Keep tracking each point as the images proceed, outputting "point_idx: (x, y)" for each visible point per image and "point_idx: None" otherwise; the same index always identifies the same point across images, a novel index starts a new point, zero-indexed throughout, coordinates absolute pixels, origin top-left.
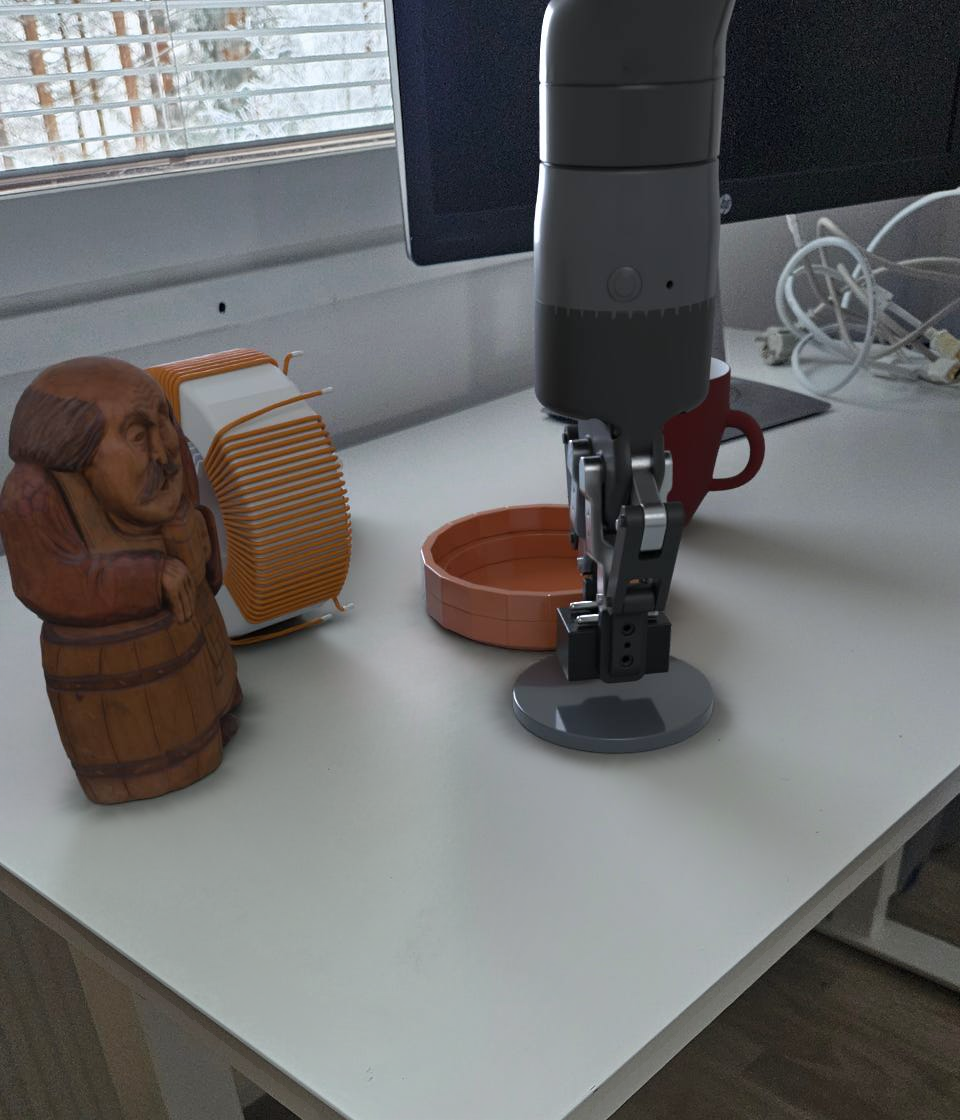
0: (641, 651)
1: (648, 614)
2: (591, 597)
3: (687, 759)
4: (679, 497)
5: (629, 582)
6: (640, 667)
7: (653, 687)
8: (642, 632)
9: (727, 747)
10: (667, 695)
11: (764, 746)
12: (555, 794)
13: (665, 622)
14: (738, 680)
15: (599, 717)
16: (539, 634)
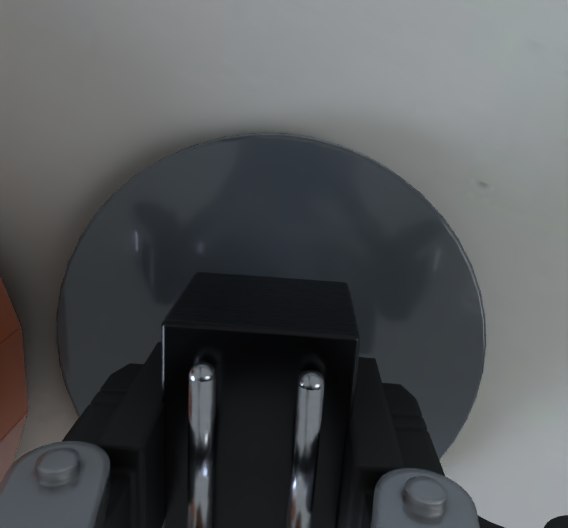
0: (425, 424)
1: (322, 407)
2: (159, 522)
3: (532, 272)
4: None
5: (144, 440)
6: (414, 398)
7: (283, 272)
8: (436, 458)
9: (518, 178)
10: (326, 254)
11: (545, 97)
12: (552, 513)
13: (347, 351)
14: (230, 32)
15: None
16: (8, 444)
